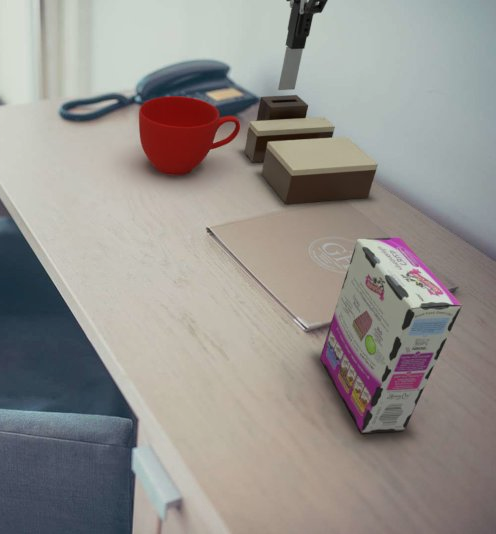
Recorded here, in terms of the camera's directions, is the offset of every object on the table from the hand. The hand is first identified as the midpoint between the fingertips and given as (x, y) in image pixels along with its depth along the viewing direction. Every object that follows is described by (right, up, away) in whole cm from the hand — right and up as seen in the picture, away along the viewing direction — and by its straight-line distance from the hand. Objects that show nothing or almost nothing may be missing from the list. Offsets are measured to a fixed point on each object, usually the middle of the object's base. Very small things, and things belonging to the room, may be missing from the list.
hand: (297, 33), depth 108 cm
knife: (0, -8, +6) cm, 10 cm away
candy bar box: (-6, -53, -39) cm, 66 cm away
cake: (+2, -26, -3) cm, 26 cm away
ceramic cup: (-19, -22, +2) cm, 29 cm away
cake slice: (0, -19, +6) cm, 20 cm away
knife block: (0, -16, +11) cm, 19 cm away
